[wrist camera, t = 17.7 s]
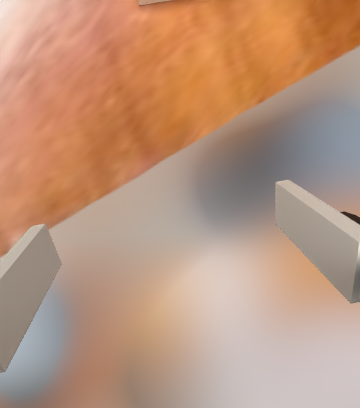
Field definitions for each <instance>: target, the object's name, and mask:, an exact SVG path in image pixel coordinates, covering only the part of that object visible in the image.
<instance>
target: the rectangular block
mask: <svg viewBox="0 0 360 408" xmlns="http://www.w3.org/2000/svg"><path fill="white" fill-rule="evenodd" d="M164 1H170V0H138V3H139V5H145V4H151V3H158V2H164Z"/></svg>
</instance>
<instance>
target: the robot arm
mask: <svg viewBox="0 0 360 408" xmlns="http://www.w3.org/2000/svg"><path fill="white" fill-rule="evenodd" d="M275 190H276V191H275V192H276V225H277V226H278V227H279V228H280V229H281V230H282V231H283V233H284V234H285V235H286V236H287V237H288V238H289V239H290V240H291V241H292V242H293V243H294V244H295V245H296V246H297V247H298V248H299V249H300V250H301V251H302V253H303V254H304V255H305V256H306V257H307V258H308V259H309V260H310V261H311V262H312V263H313V264H314V265H315V266H316V267H317V268H318V269H319V271H320V272H321V273H322V274H323V275H324V276H325V277H326V278H327V279H328V280H329V281H330V282H331V283H332V284H333V285H334V286H335V287H336V288H337V289H338V291H339V292H340V293H341V294H342V295H343V296H344V297H345V298H346V299H347V300H348V301H349V302H350V303H356V302H360V217H358V216H356V215H353V214H350V213H347V212H339V211H337V210H335V209H334V208H332V207H331V206H329V205H328V204H326V203H324V202H323V201H321V200H320V199H318V198H317V197H315V196H313V195H312V194H310V193H309V192H307V191H305V190H304V189H302V188H300V187H299V186H298V185H296V184H294V183H293V182H291V181H290V180H285V181H279V182H275ZM60 266H61V261H60V259H59V256H58V254H57V251H56V249H55V246H54V244H53V241H52V239H51V236H50V234H49V231H48V229H47V226H46V224H40V225H34V226H31V227H30V228H29V229H28V231H27V232H26V233H25V234H24V235H23V236H22V237H21V238H20V239H19V241H18V242H17V243H16V244H15V245H14V246H13V247H12V248H11V249H10V251H9V252H8V253H7V254H6V255H5V256H4V257H3V258H2V260H1V261H0V373H1V372H5V371H6V370H7V368H8V366H9V364H10V362H11V360H12V358H13V356H14V354H15V352H16V350H17V348H18V347H19V345H20V343H21V341H22V339H23V337H24V335H25V333H26V331H27V329H28V327H29V326H30V324H31V322H32V320H33V318H34V316H35V314H36V312H37V310H38V308H39V306H40V305H41V303H42V301H43V299H44V297H45V295H46V293H47V291H48V289H49V287H50V285H51V284H52V282H53V280H54V278H55V276H56V274H57V272H58V270H59V268H60Z"/></svg>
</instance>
